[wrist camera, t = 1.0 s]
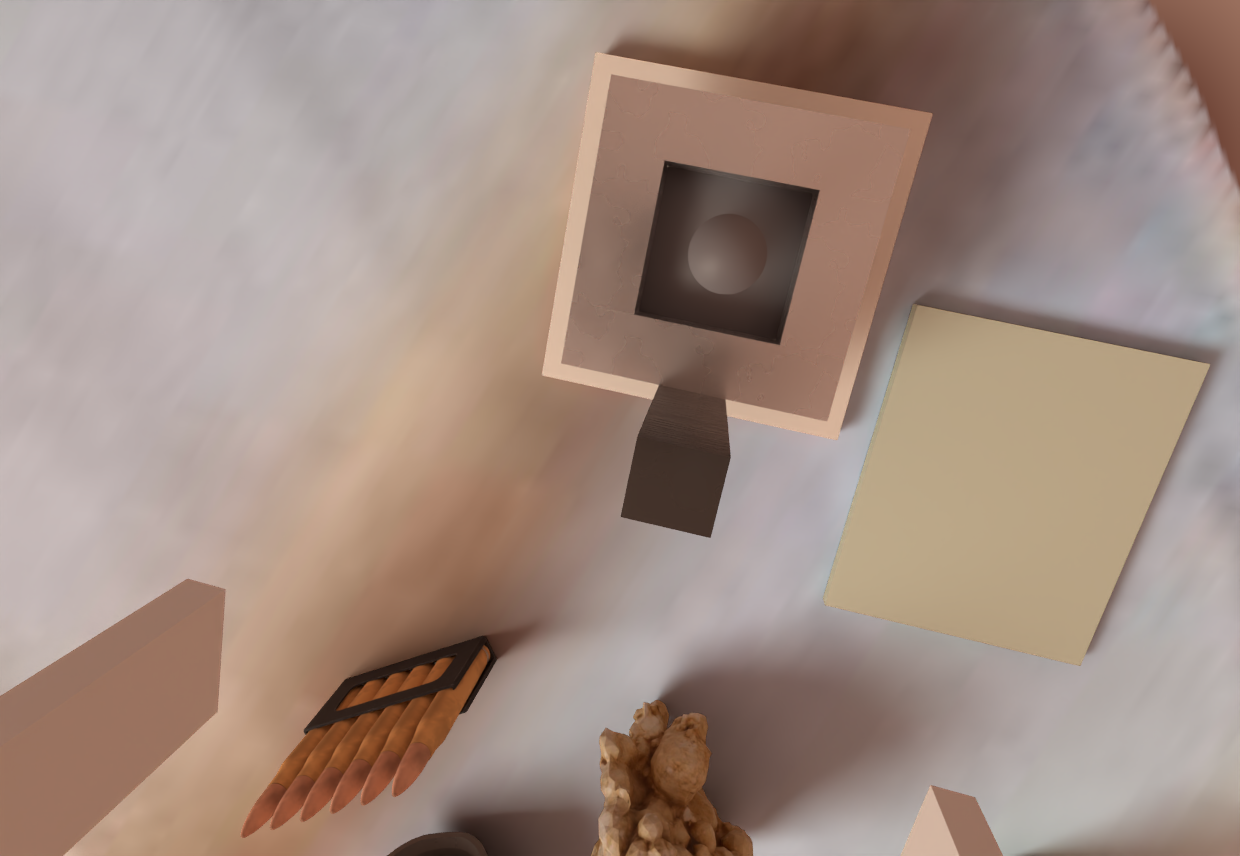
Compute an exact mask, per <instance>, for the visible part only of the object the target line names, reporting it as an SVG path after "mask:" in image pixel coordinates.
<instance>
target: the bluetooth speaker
mask: <svg viewBox="0 0 1240 856" xmlns="http://www.w3.org/2000/svg"><path fill="white" fill-rule="evenodd" d="M387 856H488V855H487V853H486V851H485V849H484V847H483V845H482V844H481V842H480V841H479V840H478V839H477V838H476V837H474V836H473V835H471V834H468V833H465V832H445V833H435V834H428V835H423V836H420V837H418V838H415V839H412V840H410V841H408V842H407V843H405V844H403V845H401V846H400V847H398V848H397V849H395V850H394V851H393V852H391V853H390V854H389V855H387Z"/></svg>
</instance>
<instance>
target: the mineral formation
mask: <svg viewBox="0 0 1240 856" xmlns="http://www.w3.org/2000/svg"><path fill="white" fill-rule="evenodd" d="M633 718H634V719H635V722H634V723H633V725H632V726H631V728H630V731H629V735H630V737H629V736H627V735H625V734H621V733H617V732H613V731H611V730H609V729H608V728H605V730H604V731H603V733H602V734H601V736H600V740H599V744H600V749H601V761H600V769H601V771H602V775H601V779H600V782H601V791H602V792H603V794H604V796H605V803H604V809H603V811H602V813H601V815H600V817H599V818H598V823H599V840H598V841H597V843H596V844H595V845H594V848H593V851H592V854H591V856H753V845H752V841H751V838H750V837H749V836H748V835H747V834H746V832H745V831H744V830H742V829H740V828H739V827H738V826H732V825H731V824H730V822H722V821H721V820H720V818H719V817H718V815H717V811H716V808H714V807H713V805H712V804H711V803H710V801H709V800H708V799H707V797H706V795H705V793H704V790H703V789H702V786H703V785H704V783H705V782H706V777H707V772H708V768H709V758H710V756H711V754H712V753H711V752H710V750H709V749H708V748H707V746H706V735H707V729H708V724H707V720H706V716H704V715H702V714H700V713H690V714H688V715H686V714H683V716H682V717H681V716H679V717H678V718H676V719H674V721H673V723H672V725H671V726H670V728H668V729H667V724H668V719H669V713H668V711H667V708H666V705H665V704H664V703H662V702H661V701H659V700H655V701H654V702H652V703H651V704H649V703H645V702H644V703H643V708H641V709H637V710H636V712H635V714H634V716H633Z"/></svg>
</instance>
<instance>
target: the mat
mask: <svg viewBox="0 0 1240 856" xmlns="http://www.w3.org/2000/svg"><path fill="white" fill-rule="evenodd" d="M1209 367H1210V364H1206V363H1202V362H1197V361H1192V360H1187V359H1182V358H1178V357H1173V356H1168V355H1163V354H1158V353H1153V352H1148V351H1143V350H1138V349H1133V348H1128V347H1123V346H1118V345H1113V344H1109V343H1104V342H1099V341H1094V340H1089V339H1084V338H1079V337H1074V336H1069V335H1064V334H1059V333H1054V332H1049V331H1045V330H1040V329H1035V328H1030V327H1025V326H1020V325H1015V324H1010V323H1005V322H1000V321H995V320H990V319H985V318H980V317H976V316H971V315H966V314H961V313H956V312H951V311H946V310H941V309H936V308H931V307H926V306H921V305H916V304H913V306H912V309H911V312H910V315H909V319H908V322H907V325H906V328H905V332H904V335H903V338H902V341H901V345H900V348H899V351H898V355H897V358H896V361H895V364H894V368H893V371H892V374H891V377H890V381H889V384H888V387H887V390H886V394H885V397H884V400H883V404H882V407H881V410H880V413H879V417H878V420H877V423H876V426H875V430H874V433H873V436H872V439H871V443H870V446H869V449H868V453H867V456H866V459H865V462H864V466H863V469H862V472H861V475H860V479H859V482H858V485H857V488H856V492H855V495H854V498H853V502H852V505H851V508H850V511H849V515H848V518H847V521H846V524H845V528H844V531H843V534H842V537H841V541H840V544H839V547H838V551H837V554H836V557H835V560H834V564H833V567H832V570H831V573H830V577H829V580H828V583H827V586H826V590H825V593H824V596H823V600H824V603H825V605H827V606H831V607H835V608H839V609H843V610H848V611H852V612H856V613H860V614H864V615H869V616H873V617H877V618H881V619H885V620H890V621H894V622H898V623H902V624H906V625H910V626H915V627H919V628H923V629H927V630H931V631H936V632H940V633H944V634H948V635H952V636H957V637H961V638H965V639H969V640H973V641H977V642H982V643H986V644H990V645H994V646H998V647H1003V648H1007V649H1011V650H1015V651H1019V652H1023V653H1028V654H1032V655H1036V656H1040V657H1044V658H1049V659H1053V660H1057V661H1061V662H1065V663H1070V664H1074V665H1078V666H1080V665H1081V663H1082V661H1083V658H1084V656H1085V654H1086V651H1087V649H1088V647H1089V644H1090V642H1091V640H1092V638H1093V635H1094V633H1095V631H1096V628H1097V626H1098V624H1099V621H1100V619H1101V617H1102V614H1103V612H1104V610H1105V607H1106V605H1107V603H1108V600H1109V598H1110V596H1111V594H1112V591H1113V589H1114V587H1115V584H1116V582H1117V580H1118V577H1119V575H1120V573H1121V570H1122V568H1123V566H1124V563H1125V561H1126V559H1127V556H1128V554H1129V552H1130V550H1131V547H1132V545H1133V543H1134V540H1135V538H1136V536H1137V533H1138V531H1139V529H1140V526H1141V524H1142V522H1143V519H1144V517H1145V515H1146V512H1147V510H1148V508H1149V506H1150V503H1151V501H1152V499H1153V496H1154V494H1155V492H1156V489H1157V487H1158V485H1159V482H1160V480H1161V478H1162V475H1163V473H1164V471H1165V469H1166V466H1167V464H1168V462H1169V459H1170V457H1171V455H1172V452H1173V450H1174V448H1175V445H1176V443H1177V441H1178V438H1179V436H1180V434H1181V431H1182V429H1183V427H1184V425H1185V422H1186V420H1187V418H1188V415H1189V413H1190V411H1191V408H1192V406H1193V404H1194V401H1195V399H1196V397H1197V394H1198V392H1199V390H1200V387H1201V385H1202V383H1203V381H1204V378H1205V376H1206V374H1207V371H1208V369H1209Z"/></svg>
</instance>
